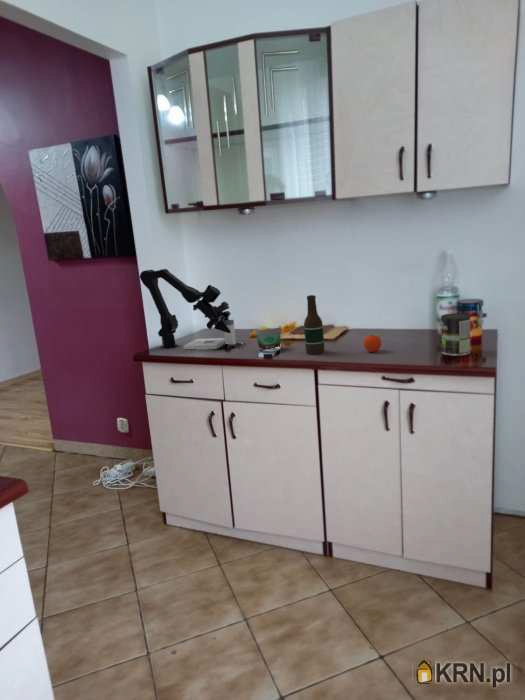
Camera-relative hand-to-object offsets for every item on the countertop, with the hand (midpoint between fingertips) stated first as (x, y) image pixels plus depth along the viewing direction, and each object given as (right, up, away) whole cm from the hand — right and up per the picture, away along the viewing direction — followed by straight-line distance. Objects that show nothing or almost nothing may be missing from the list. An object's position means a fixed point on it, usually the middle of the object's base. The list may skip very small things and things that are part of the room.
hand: (231, 331), depth 249 cm
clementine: (+60, -10, -38) cm, 71 cm away
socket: (-13, -7, +6) cm, 15 cm away
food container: (+19, -9, -18) cm, 28 cm away
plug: (-1, -6, +2) cm, 7 cm away
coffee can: (+88, -10, -51) cm, 102 cm away
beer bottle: (+37, -10, -30) cm, 48 cm away
